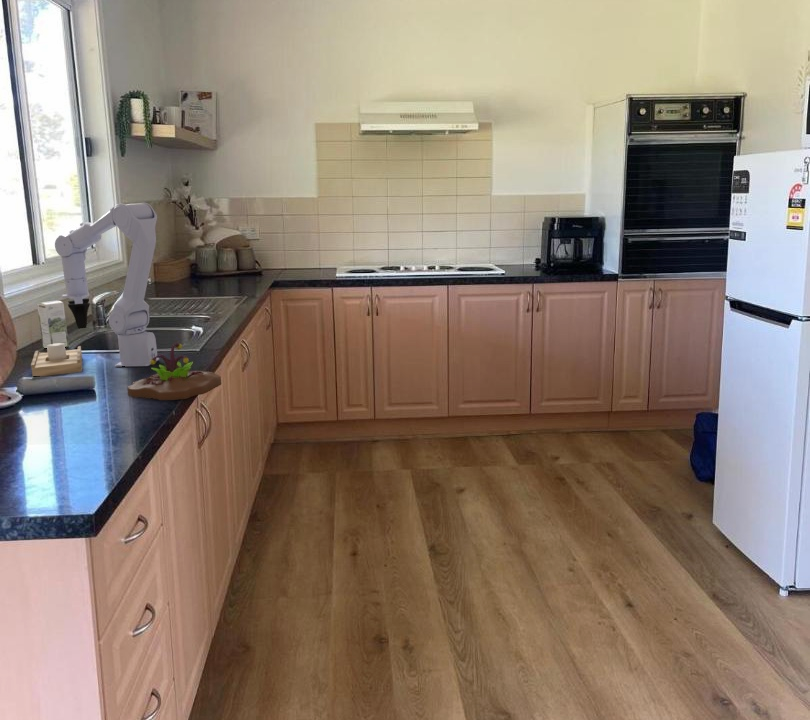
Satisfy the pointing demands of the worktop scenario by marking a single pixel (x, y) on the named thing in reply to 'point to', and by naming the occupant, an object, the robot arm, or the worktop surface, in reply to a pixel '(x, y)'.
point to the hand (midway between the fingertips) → (82, 326)
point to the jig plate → (57, 363)
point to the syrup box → (52, 323)
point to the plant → (174, 380)
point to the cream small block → (56, 351)
